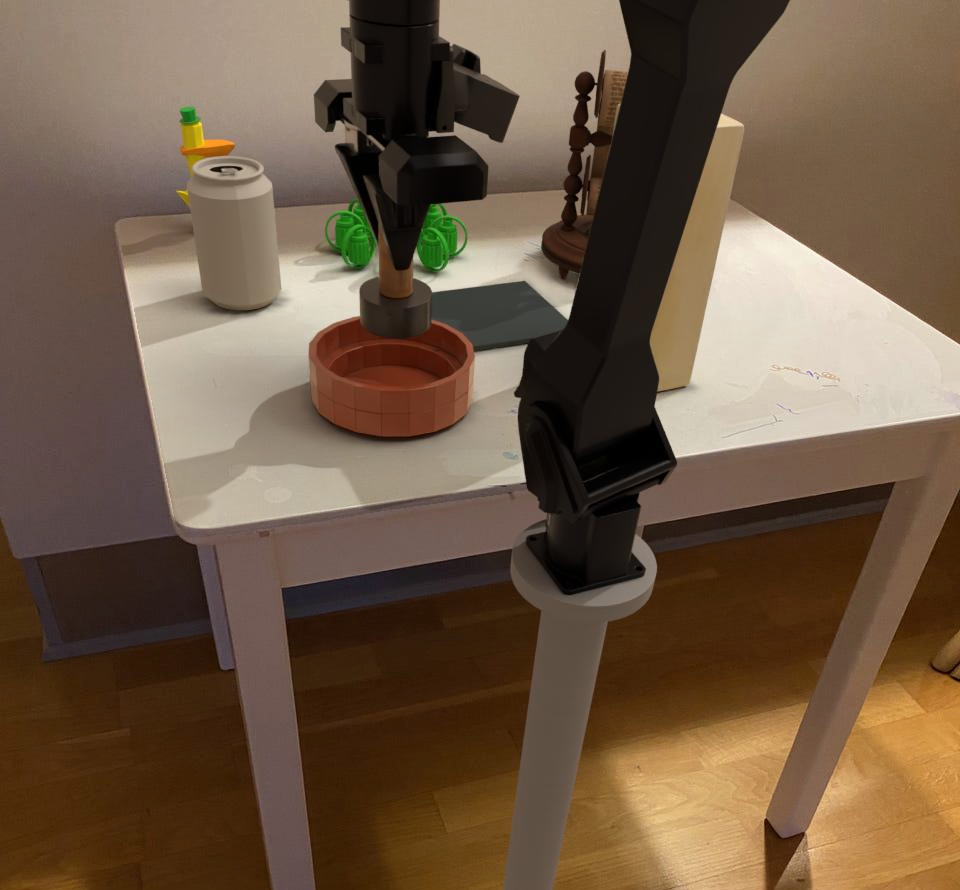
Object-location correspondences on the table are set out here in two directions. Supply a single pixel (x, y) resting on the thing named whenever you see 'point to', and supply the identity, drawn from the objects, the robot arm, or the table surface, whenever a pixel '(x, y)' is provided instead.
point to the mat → (497, 314)
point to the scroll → (572, 232)
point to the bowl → (391, 378)
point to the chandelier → (355, 236)
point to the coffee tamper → (394, 300)
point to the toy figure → (198, 143)
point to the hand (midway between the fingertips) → (395, 261)
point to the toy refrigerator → (695, 261)
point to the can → (235, 232)
